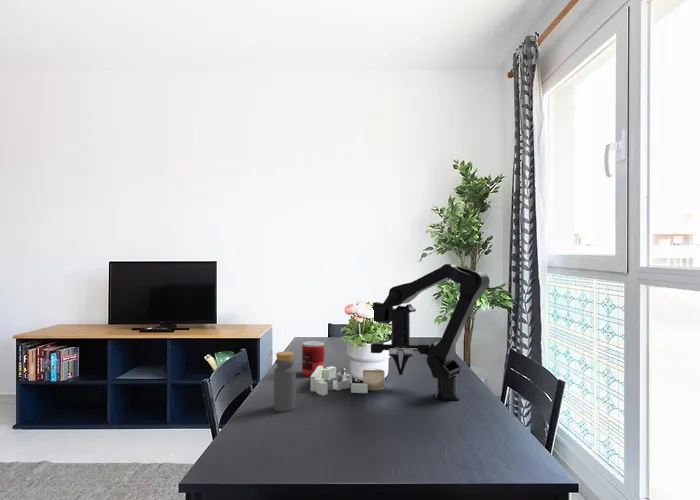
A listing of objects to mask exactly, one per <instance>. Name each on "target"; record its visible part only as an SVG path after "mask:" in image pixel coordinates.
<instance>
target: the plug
mask: <svg viewBox="0 0 700 500" xmlns="http://www.w3.org/2000/svg"><path fill="white" fill-rule="evenodd" d="M374 369H375V370H365V369H363V370H362V373H363V382H362V383H365V384H368V391H380V390H384V389H385V385H386V384H385V383H386V381H385V374H386V373H385V370H383V369H381V368H374ZM383 388H384V389H383Z"/></svg>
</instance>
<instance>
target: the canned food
mask: <svg viewBox="0 0 700 500" xmlns="http://www.w3.org/2000/svg"><path fill="white" fill-rule="evenodd" d="M301 357H302V359H301V370H302V371H301V373H302V376H304V377H308V378H311V375H312V374H313V373H314V371H315V370H316V368H317V367H318V366H323V369H325V342H323V341H320V340H310V341H309V340H308V341H304V342H302V346H301Z"/></svg>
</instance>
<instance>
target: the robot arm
mask: <svg viewBox="0 0 700 500" xmlns="http://www.w3.org/2000/svg"><path fill="white" fill-rule="evenodd" d="M448 279H449V280H451V281H452V282H455V283H457V284H459V285H460V286H459V298H458V300H457V302H456V305H455V307H454V309H453V312H452V314H451V316H450V318H449V321H448V322H447V325H446V327H445V329H444V332H443V334H442V337H441V339H440V340H437V341H435V342H431V344H430V342H429V341H418V342H417V344H410V343H411V334H410V332H411V331H410V330H411V329H410V328H411V325H410V324H411V323H410V321H411V320H410V313H414V312H415V313H416V311H417V309H416V308H415V307H413V305H412V303H410V302H412V301H413V300H414V299H416V298H417V297H418V295H420V294H421V293H422V292H424V291H426V290H428V289H430V288H433V287H435V286H437V285H439V284H441V283H443V282H445V281H447V280H448ZM490 280H491V279H490V277H489V276H488V274H487V273H486V272H485V271H482V270H471V269H468V268H465V267H461V266H459V265H456V264H454V263H445V264H443V265H442V266H440V267H439V268H437V269H435V270H433V271H431V272H429V273H427V274H425V275H423V276H420V277H418V278H417V279H415V280H412V281H411V282H406V283H403V284H399V285H395V286H392V287H391V288H390V289H389V291H388V294H387V297H386V298H385V300H384V301H383V302H379V301H374V302H372V306H371V308H373V310H374V321H376V322H378V323H377V324H381V323H382V324H384V325H389V324H391V330H392V333H391V335H390V336H389V340H388V341H390V342H391V344H390V343H385V342H384V341H383V342H376V343H372V342H371V343H372V344H370V353H371V354H382V353H383V351H388V356H389V357H392V359H393V361H394V363H395V366H396V369H397V372H398V375H399V376H403V373H404V370H405V368H406V367H405V366H406V365H407V362H408V360H409V358H411V357H413V352H418V353H419V354H420V355H425V356H427V357H426V363H427V366H428V368H429V369H430V372H431V376H432V378H434V379H436V391H434V395H435V399H436V400H441V401H442V400H445V401H446V400H447V401H459V400H460V397H459V396H458V393H457V375H460V373H461V370H462V367H461V366H460V365H459V363H458V362H457V360H456V359H455V357H456V352H457V351H456V348H457V347H456V345H457V342H458V340H459V339H460V336H461V334H462V332H463V330H464V327H465V325H466V323H467V321H468V318H469V316H470V314H471V312H472V310H473V307H474V305H475V304H476V302H478V300H479V299H480V298H481V296H482V295H483V294H484V293H485V291H486V290H487V289H488V287H489V285H490V282H491V281H490ZM404 304H405V305H404ZM395 307H396V308H395ZM382 324H381V325H382ZM399 351H400V352H401V351H402V355H401V356H402V358H401V363H400V355H399Z"/></svg>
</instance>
